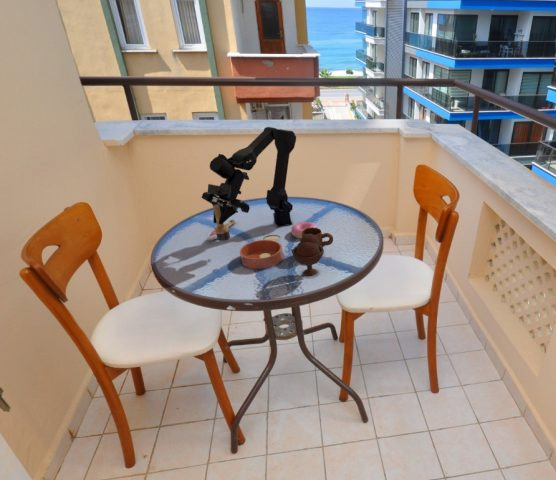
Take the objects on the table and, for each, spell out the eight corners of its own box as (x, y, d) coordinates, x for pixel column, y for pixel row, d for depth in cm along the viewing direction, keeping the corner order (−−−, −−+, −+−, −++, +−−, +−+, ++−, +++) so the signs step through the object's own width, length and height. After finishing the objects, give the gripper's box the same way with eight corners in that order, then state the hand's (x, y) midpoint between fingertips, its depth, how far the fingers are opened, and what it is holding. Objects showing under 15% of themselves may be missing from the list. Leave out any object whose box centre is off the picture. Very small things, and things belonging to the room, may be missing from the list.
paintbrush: (204, 235, 166) (228, 218, 183) (205, 242, 168) (229, 223, 184) (212, 236, 166) (236, 218, 182) (214, 242, 167) (237, 224, 184)
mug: (336, 250, 163) (335, 228, 158) (332, 259, 157) (330, 237, 152) (307, 248, 165) (304, 226, 159) (301, 257, 158) (298, 235, 153)
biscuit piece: (269, 255, 159) (269, 252, 158) (271, 259, 156) (271, 257, 155) (259, 257, 158) (258, 254, 157) (260, 261, 155) (260, 259, 154)
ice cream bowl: (295, 266, 153) (290, 229, 144) (326, 265, 153) (323, 228, 145) (293, 282, 144) (287, 243, 135) (325, 280, 145) (321, 242, 136)
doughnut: (313, 227, 181) (312, 218, 178) (321, 237, 173) (320, 228, 170) (288, 231, 177) (287, 222, 175) (295, 242, 169) (294, 233, 166)
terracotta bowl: (279, 247, 165) (277, 237, 163) (287, 265, 154) (285, 254, 151) (239, 254, 160) (237, 243, 158) (245, 273, 149) (242, 262, 146)
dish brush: (229, 234, 159) (221, 202, 152) (231, 239, 156) (224, 206, 148) (215, 236, 157) (207, 204, 150) (218, 242, 154) (209, 209, 146)
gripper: (198, 170, 149) (182, 209, 148) (237, 178, 142) (220, 219, 141) (220, 184, 160) (204, 221, 158) (257, 192, 153) (241, 231, 151)
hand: (217, 223), depth 152 cm, fingers closed on dish brush, 2 cm apart
